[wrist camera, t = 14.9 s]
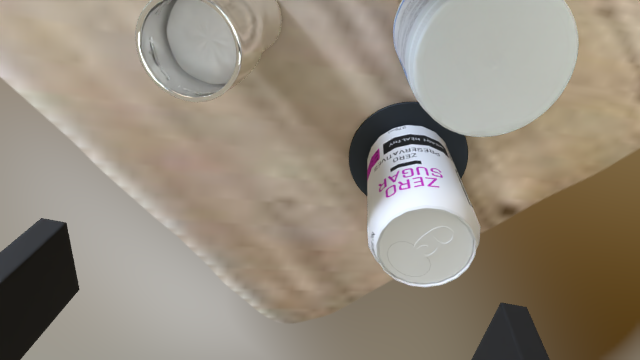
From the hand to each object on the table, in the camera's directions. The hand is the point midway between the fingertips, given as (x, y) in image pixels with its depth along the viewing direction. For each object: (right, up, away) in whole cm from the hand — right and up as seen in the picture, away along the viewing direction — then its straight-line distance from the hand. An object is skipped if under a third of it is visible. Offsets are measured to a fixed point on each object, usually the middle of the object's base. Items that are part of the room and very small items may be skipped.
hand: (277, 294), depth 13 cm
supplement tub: (+13, +17, +24) cm, 32 cm away
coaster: (+10, +6, +30) cm, 33 cm away
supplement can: (+10, +6, +30) cm, 32 cm away
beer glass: (-5, +18, +26) cm, 32 cm away
